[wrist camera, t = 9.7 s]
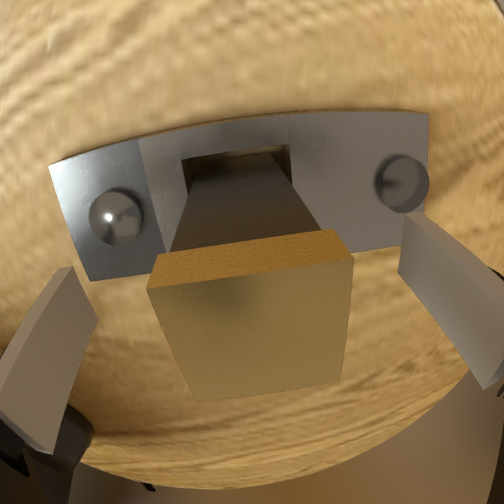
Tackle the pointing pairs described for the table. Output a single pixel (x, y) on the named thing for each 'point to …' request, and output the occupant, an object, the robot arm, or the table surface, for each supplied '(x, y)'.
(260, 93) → the table surface
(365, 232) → the plate
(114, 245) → the plate
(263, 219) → the link pin
